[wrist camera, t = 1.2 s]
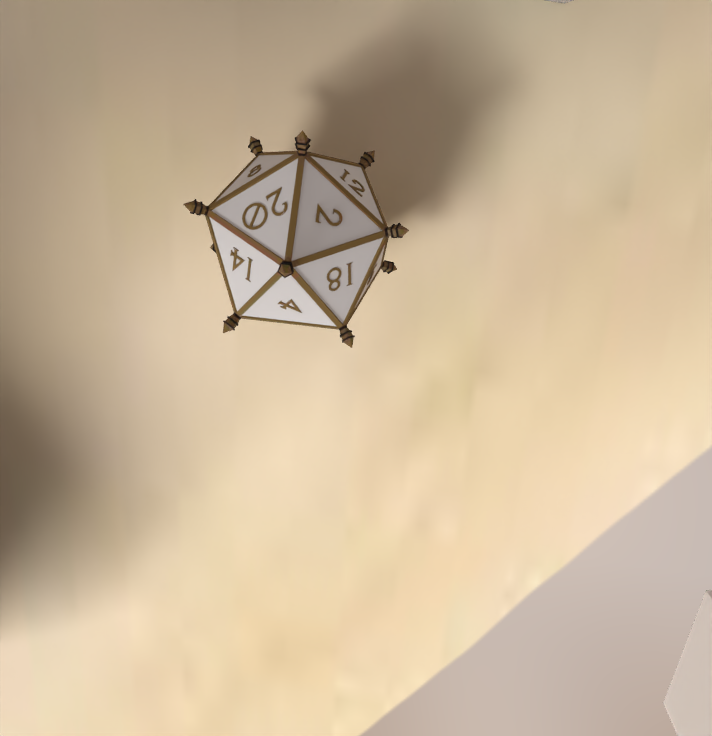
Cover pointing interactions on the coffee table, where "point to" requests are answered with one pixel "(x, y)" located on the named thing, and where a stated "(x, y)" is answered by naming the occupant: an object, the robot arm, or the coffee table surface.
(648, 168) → the coffee table surface
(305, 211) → the game die
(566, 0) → the square tray
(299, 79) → the coffee table surface
